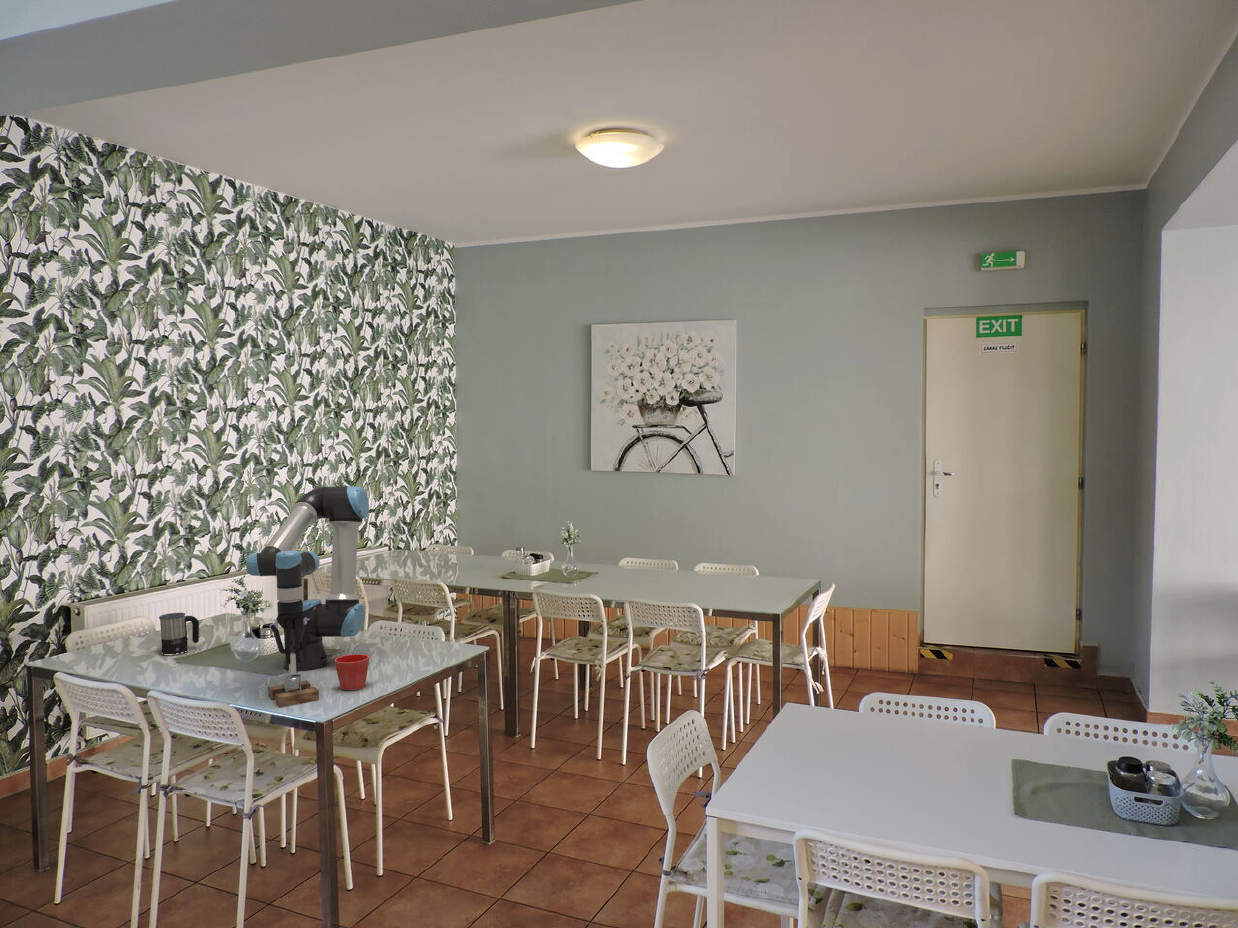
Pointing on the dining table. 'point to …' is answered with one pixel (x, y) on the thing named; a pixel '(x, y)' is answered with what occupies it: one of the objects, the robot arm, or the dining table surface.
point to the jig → (293, 694)
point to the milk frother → (177, 632)
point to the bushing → (292, 683)
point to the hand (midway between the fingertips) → (292, 673)
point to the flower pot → (352, 671)
